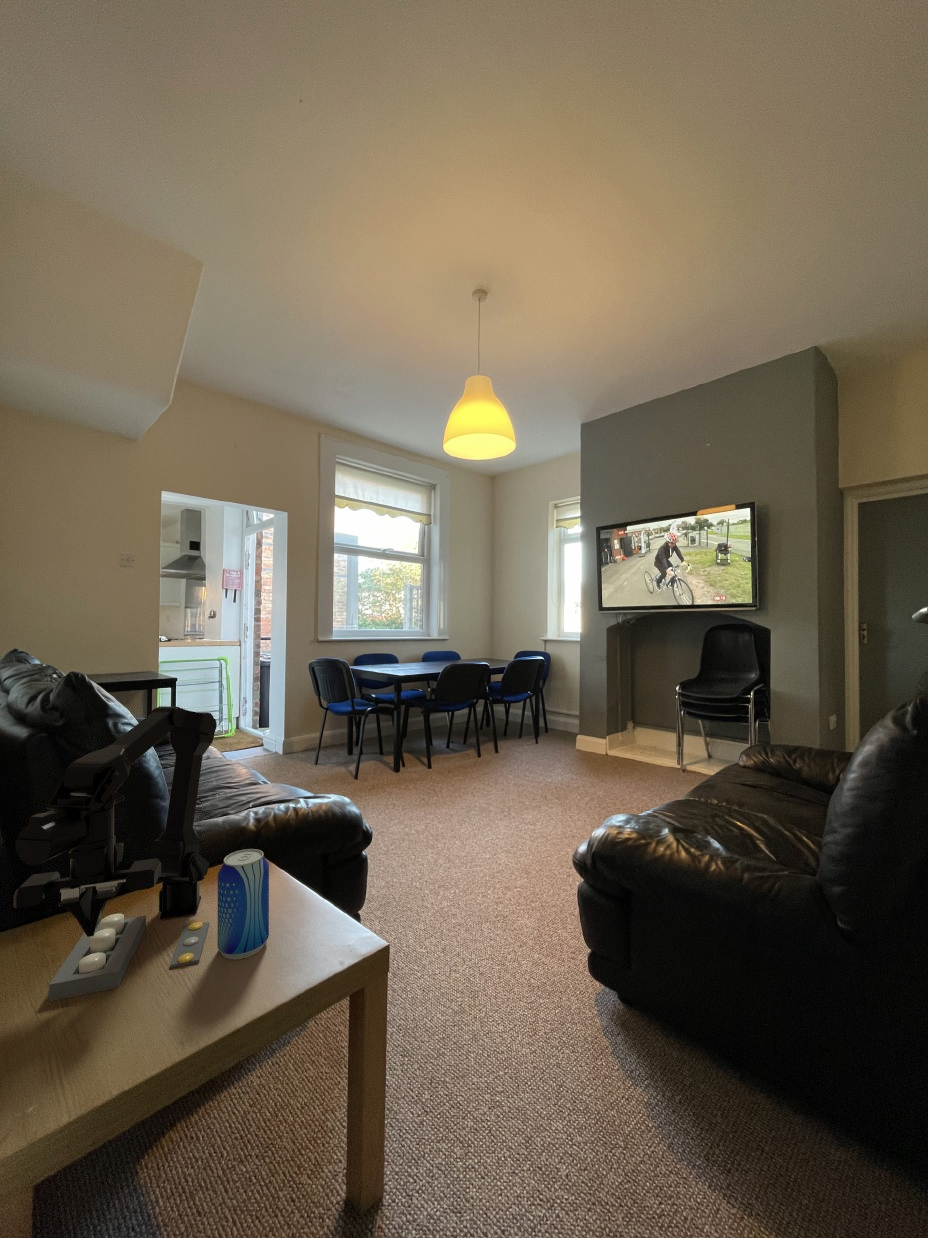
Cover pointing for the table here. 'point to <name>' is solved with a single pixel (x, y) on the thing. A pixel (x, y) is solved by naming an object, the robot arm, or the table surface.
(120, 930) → the button
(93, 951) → the button mid
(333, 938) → the table surface
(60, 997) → the button board
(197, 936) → the pattern tile
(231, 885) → the beer can
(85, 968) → the button
